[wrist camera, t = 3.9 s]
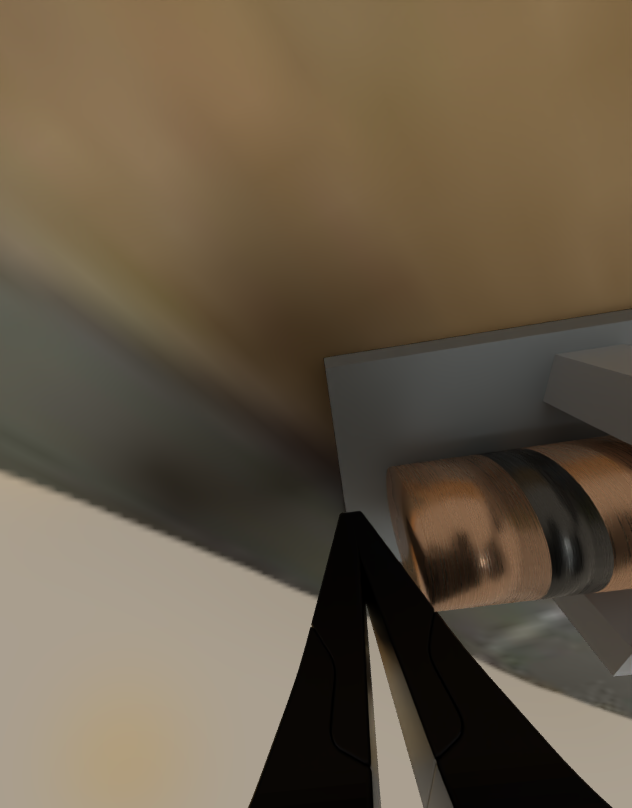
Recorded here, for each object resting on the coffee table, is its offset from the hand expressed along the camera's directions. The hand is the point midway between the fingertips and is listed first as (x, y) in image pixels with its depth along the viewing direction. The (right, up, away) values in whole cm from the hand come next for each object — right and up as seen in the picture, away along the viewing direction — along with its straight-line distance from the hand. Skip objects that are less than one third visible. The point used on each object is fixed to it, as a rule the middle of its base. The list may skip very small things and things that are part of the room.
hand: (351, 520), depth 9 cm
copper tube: (+7, +2, +1) cm, 8 cm away
